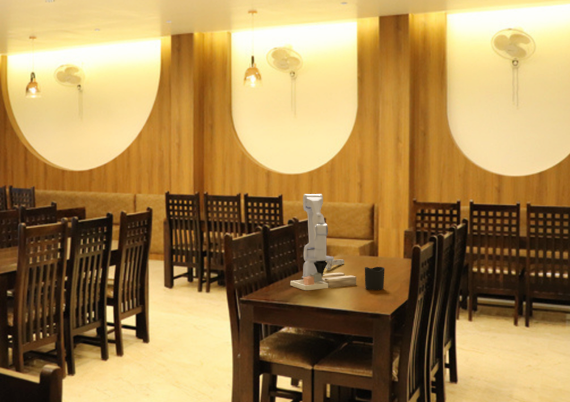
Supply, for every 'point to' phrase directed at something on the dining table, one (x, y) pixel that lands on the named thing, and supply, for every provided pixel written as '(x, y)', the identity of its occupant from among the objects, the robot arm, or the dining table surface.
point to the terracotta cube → (308, 280)
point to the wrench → (333, 263)
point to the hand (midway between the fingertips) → (320, 276)
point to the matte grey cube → (316, 276)
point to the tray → (309, 287)
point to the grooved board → (338, 280)
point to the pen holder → (374, 278)
